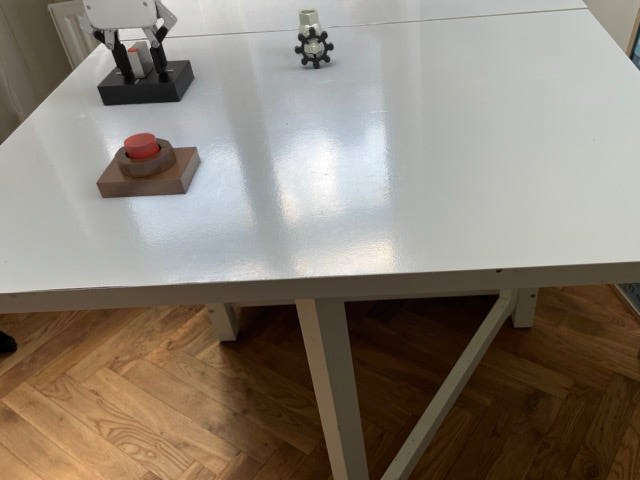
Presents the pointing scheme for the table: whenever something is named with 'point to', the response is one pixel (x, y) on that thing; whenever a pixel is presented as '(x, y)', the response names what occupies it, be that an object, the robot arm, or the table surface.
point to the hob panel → (147, 85)
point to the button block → (150, 172)
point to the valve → (312, 38)
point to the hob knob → (140, 59)
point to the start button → (141, 146)
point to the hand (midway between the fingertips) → (144, 70)
